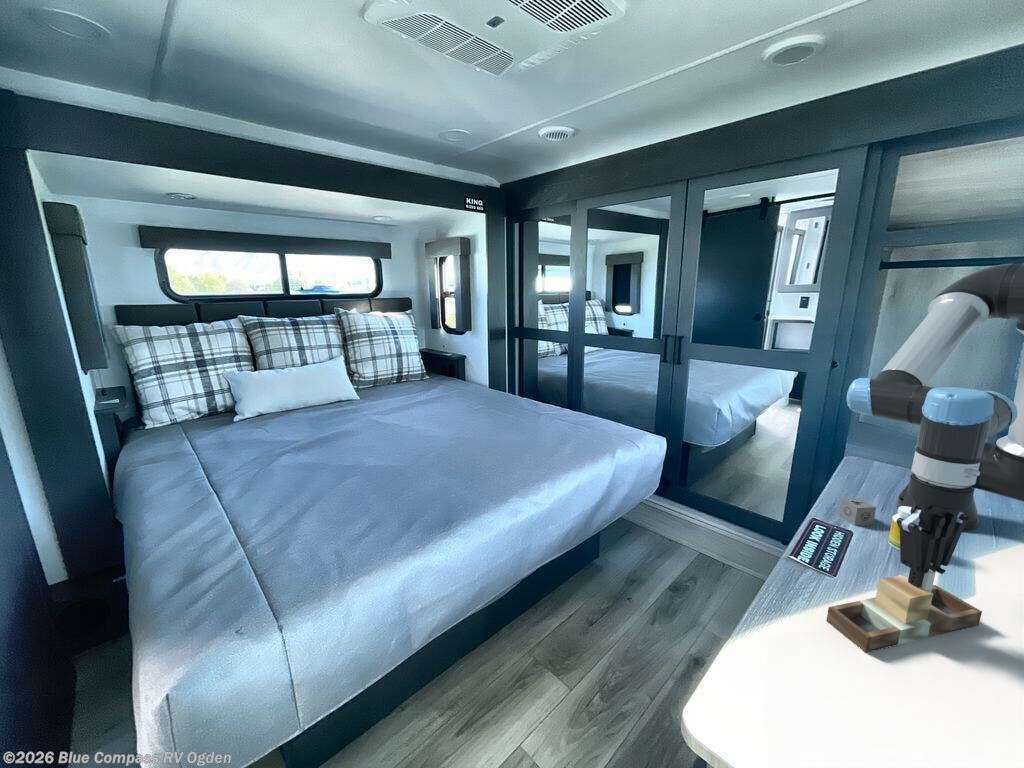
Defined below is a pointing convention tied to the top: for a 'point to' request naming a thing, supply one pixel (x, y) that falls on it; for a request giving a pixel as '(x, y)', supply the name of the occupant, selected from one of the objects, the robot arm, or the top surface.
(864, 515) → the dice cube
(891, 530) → the supplement bottle
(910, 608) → the oak block
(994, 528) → the top surface
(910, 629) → the board
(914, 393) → the robot arm
